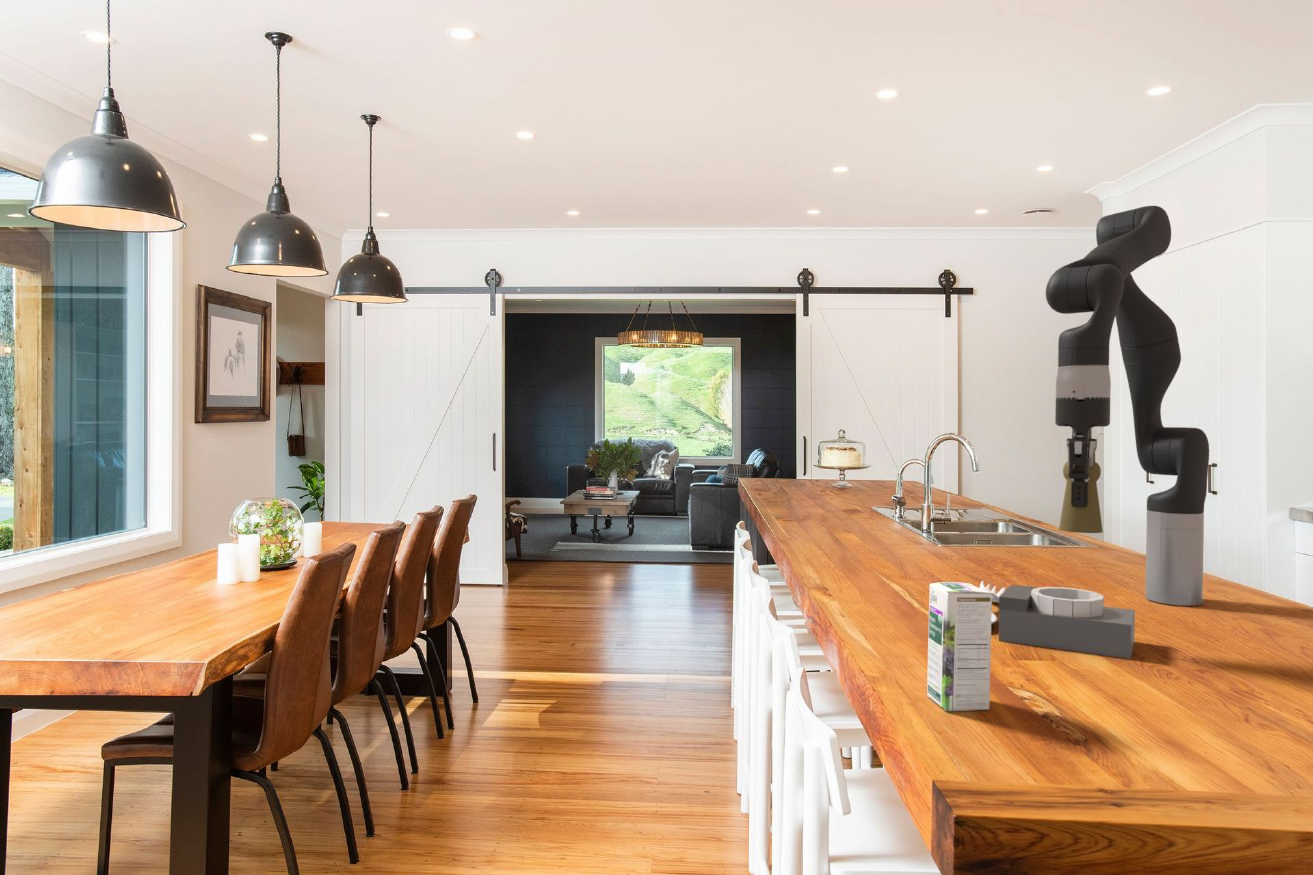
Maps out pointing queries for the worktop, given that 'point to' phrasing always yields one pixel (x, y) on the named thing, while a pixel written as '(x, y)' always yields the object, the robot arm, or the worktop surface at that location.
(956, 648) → the syrup box
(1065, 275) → the robot arm
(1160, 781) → the worktop surface
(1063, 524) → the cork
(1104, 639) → the camera body
